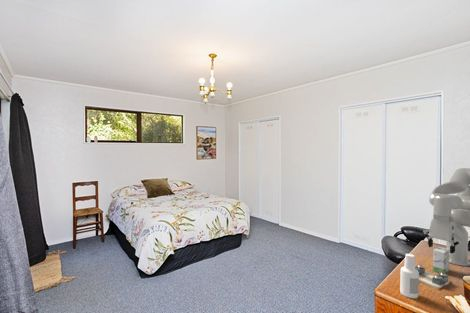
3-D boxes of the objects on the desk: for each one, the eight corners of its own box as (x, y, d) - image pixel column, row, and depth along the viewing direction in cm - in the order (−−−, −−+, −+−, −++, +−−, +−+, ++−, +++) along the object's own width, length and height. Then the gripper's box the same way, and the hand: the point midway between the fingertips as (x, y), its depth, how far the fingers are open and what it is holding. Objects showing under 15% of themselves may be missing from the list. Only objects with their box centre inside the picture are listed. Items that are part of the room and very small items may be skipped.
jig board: (420, 270, 137) (420, 268, 137) (451, 282, 125) (451, 280, 125) (406, 276, 130) (406, 274, 130) (437, 289, 118) (437, 287, 118)
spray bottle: (419, 300, 109) (420, 259, 109) (400, 295, 113) (401, 255, 112) (417, 293, 115) (418, 254, 114) (399, 288, 118) (400, 250, 118)
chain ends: (418, 270, 135) (418, 264, 135) (448, 281, 124) (448, 274, 124) (409, 274, 131) (409, 267, 131) (439, 285, 120) (439, 278, 119)
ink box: (443, 274, 133) (444, 252, 133) (432, 270, 137) (433, 249, 137) (449, 270, 138) (449, 249, 137) (438, 266, 142) (438, 246, 141)
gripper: (465, 221, 131) (464, 254, 131) (427, 214, 146) (426, 243, 146) (459, 223, 127) (458, 256, 127) (420, 215, 142) (419, 245, 142)
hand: (440, 249), depth 137 cm, fingers open, 9 cm apart
